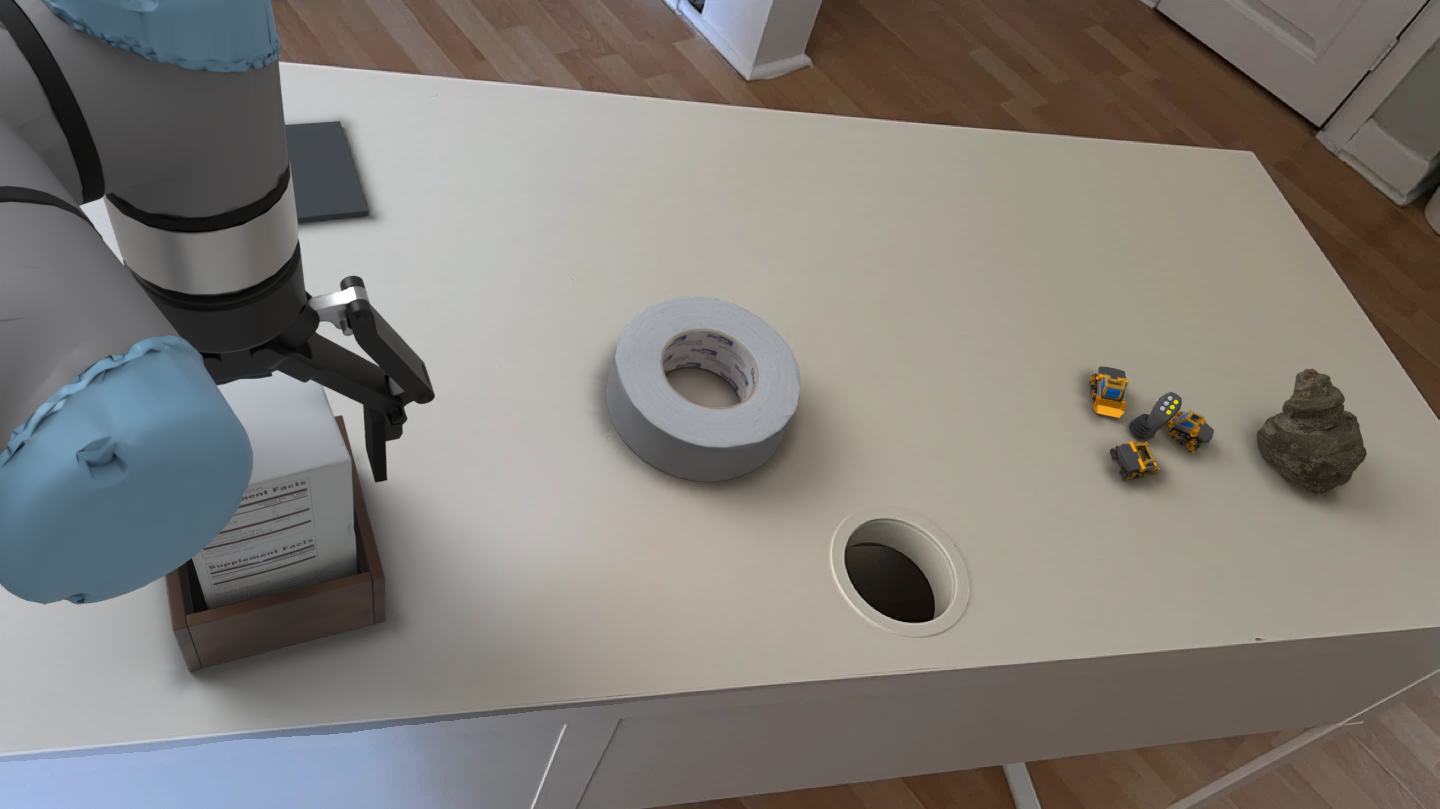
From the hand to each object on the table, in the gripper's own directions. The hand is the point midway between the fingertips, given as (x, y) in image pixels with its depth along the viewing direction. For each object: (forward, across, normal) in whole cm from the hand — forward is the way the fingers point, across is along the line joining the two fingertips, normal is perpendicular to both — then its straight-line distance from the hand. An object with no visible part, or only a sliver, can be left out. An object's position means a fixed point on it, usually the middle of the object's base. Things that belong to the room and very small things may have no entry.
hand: (262, 487), depth 65 cm
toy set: (+10, -73, +8) cm, 74 cm away
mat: (+9, -4, -37) cm, 39 cm away
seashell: (+10, -89, +16) cm, 91 cm away
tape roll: (+9, -34, -5) cm, 35 cm away
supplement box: (+9, 0, 0) cm, 9 cm away
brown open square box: (+9, 0, 0) cm, 9 cm away
